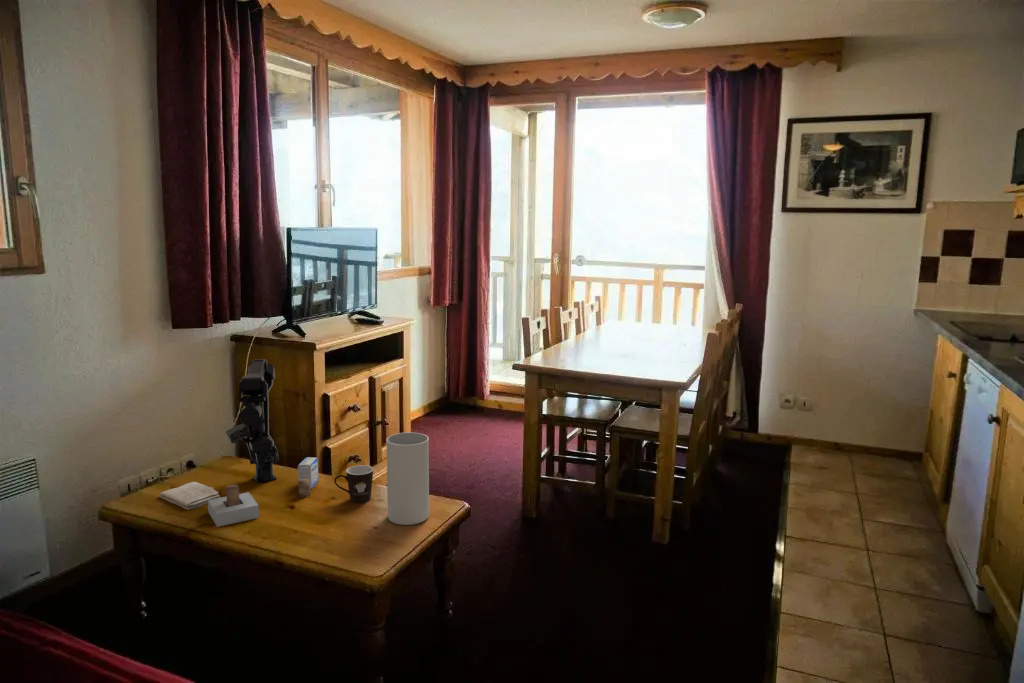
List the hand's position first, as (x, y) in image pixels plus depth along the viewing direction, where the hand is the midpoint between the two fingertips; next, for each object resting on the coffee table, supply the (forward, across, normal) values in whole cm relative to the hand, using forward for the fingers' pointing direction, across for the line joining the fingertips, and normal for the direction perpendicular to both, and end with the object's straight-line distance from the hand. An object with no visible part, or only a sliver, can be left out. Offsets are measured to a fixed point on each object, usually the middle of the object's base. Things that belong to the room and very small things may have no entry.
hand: (256, 462), depth 217 cm
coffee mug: (+12, +17, +27) cm, 34 cm away
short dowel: (+12, +5, +13) cm, 19 cm away
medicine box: (+13, -3, +17) cm, 22 cm away
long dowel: (+12, +9, -10) cm, 18 cm away
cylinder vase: (+12, +39, +35) cm, 53 cm away
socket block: (+12, +9, -10) cm, 18 cm away
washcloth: (+13, -12, -18) cm, 25 cm away
